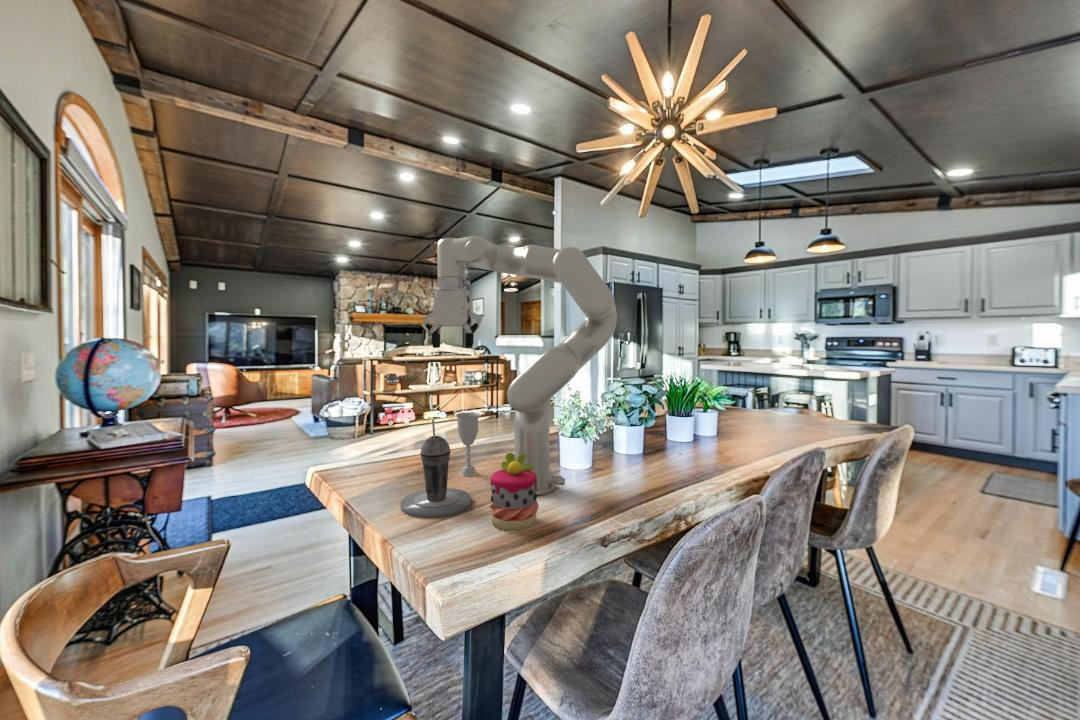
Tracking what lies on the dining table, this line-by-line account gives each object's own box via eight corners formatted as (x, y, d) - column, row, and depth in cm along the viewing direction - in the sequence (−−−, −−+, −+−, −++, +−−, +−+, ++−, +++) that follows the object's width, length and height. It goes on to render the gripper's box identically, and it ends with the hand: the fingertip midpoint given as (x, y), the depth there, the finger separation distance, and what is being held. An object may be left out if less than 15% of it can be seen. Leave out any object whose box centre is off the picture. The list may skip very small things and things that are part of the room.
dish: (481, 495, 121) (481, 489, 121) (453, 521, 104) (453, 514, 104) (422, 490, 125) (422, 484, 125) (386, 514, 109) (386, 507, 108)
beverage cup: (455, 493, 117) (453, 415, 116) (446, 504, 110) (444, 421, 109) (427, 492, 118) (425, 415, 117) (416, 503, 111) (414, 421, 110)
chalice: (451, 475, 138) (451, 415, 137) (463, 469, 144) (463, 412, 143) (473, 478, 135) (472, 417, 134) (484, 472, 141) (484, 413, 140)
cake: (544, 528, 101) (544, 460, 100) (497, 535, 97) (496, 465, 96) (528, 510, 110) (528, 448, 109) (485, 517, 107) (484, 453, 106)
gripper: (486, 285, 128) (487, 347, 129) (429, 287, 132) (430, 347, 133) (476, 282, 121) (476, 348, 122) (416, 284, 125) (417, 348, 126)
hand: (452, 347), depth 127 cm, fingers open, 9 cm apart
